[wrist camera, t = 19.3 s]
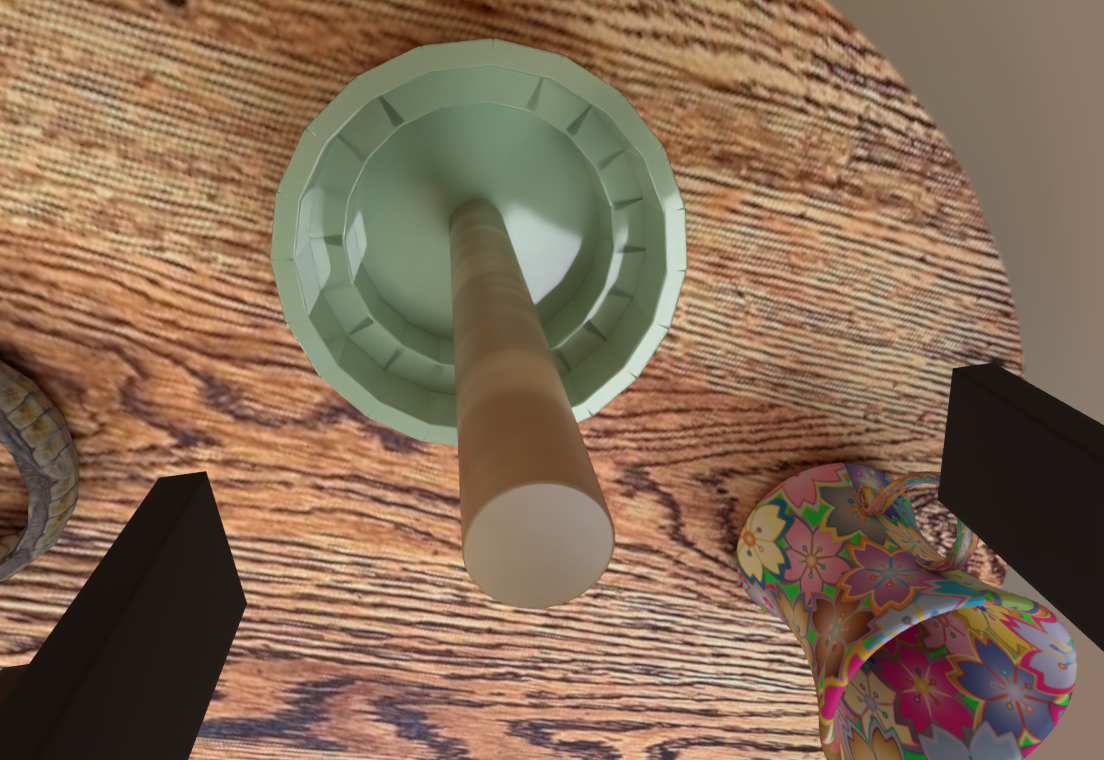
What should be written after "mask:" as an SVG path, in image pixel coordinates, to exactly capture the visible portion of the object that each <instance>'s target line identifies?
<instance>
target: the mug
mask: <svg viewBox="0 0 1104 760" xmlns="http://www.w3.org/2000/svg"><path fill="white" fill-rule="evenodd" d="M940 474H941V472H933V471H925V472H916V473H911V474H908V475H905V476H902V477H900V478H898V479H896V480H894V479H892V478H891V477H890V476H888V475H886V474H885V473H883V472H881V471H879V470H877V469H874V468H871V467H868V466H865V465H860V464H853V463H835V464H828V465H822V466H818V467H814V468H811V469H808V470H805V471H803V472H800V473H798V474H796V475H794V476H792V477H790V478H788V479H787V480H785V481H783V482H782V483H780V484H779V485H778V486H776V487H775V488H774V489H772V490H771V491H770V492H769V493H768V494H767V495H766V496H765V497H764V498H763V499H762V500H761V501H760V502H759V503H758V505H757V506H756V507H755V508H754V510H753V511H752V513H751V514H750V516H749V517H748V519H747V521H746V523H745V525H744V527H743V529H742V531H741V534H740V537H739V541H738V546H737V554H736V562H737V570H738V574H739V578H740V581H741V583H742V586H743V588H744V589H745V591H746V593H747V594H748V595H749V597H750V598H751V599H752V600H753V601H754V602H755V603H756V604H757V605H759V606H760V607H761V608H762V609H764V610H765V611H767V612H769V613H771V614H773V615H775V616H777V617H779V618H780V619H781V620H782V621H783V622H784V623H785V624H786V625H787V626H788V627H789V628H790V629H791V631H792V632H793V633H794V635H795V636H796V638H797V640H798V641H799V643H800V645H801V647H802V649H803V651H804V653H805V655H806V657H807V660H808V662H809V665H810V668H811V671H812V675H813V678H814V682H815V687H816V692H817V699H818V708H819V732H820V740H821V745H822V749H823V751H824V754H825V757H826V758H827V760H1023V759H1024V758H1025V757H1026V756H1028V755H1029V754H1030V753H1031V752H1032V751H1033V750H1034V749H1035V748H1036V747H1037V746H1038V745H1039V744H1040V743H1041V742H1042V741H1043V740H1044V739H1045V738H1046V737H1047V736H1048V735H1049V733H1050V732H1051V731H1052V729H1053V728H1054V727H1055V726H1056V724H1057V723H1058V721H1059V720H1060V718H1061V716H1062V715H1063V713H1064V711H1065V709H1066V707H1067V705H1068V703H1069V701H1070V698H1071V695H1072V692H1073V689H1074V685H1075V681H1076V675H1077V656H1076V650H1075V646H1074V643H1073V641H1072V638H1071V636H1070V634H1069V632H1068V630H1067V629H1066V627H1065V626H1064V624H1063V623H1062V622H1061V621H1060V620H1059V619H1058V618H1057V617H1056V616H1055V615H1054V614H1053V613H1052V612H1051V611H1049V610H1048V609H1047V608H1045V607H1044V606H1042V605H1040V604H1039V603H1037V602H1035V601H1032V600H1030V599H1028V598H1025V597H1023V596H1019V595H1016V594H1013V593H1009V592H1007V591H1004V590H1001V589H998V588H996V587H993V586H991V585H988V584H986V583H984V582H982V581H980V580H978V579H976V578H974V577H972V576H970V575H968V574H967V573H965V572H963V571H962V570H960V569H959V568H961V567H962V566H964V565H965V564H966V563H967V562H968V561H969V560H970V559H971V557H972V556H973V554H974V552H975V550H976V547H977V544H978V540H979V537H978V536H977V535H976V534H974V533H973V532H972V531H971V530H970V529H969V528H968V527H967V526H966V525H965V524H963V523H962V522H961V521H960V520H959V519H958V518H957V523H958V528H957V538H956V542H955V545H954V547H953V549H952V551H951V553H950V554H949V555H948V556H947V557H946V558H944V557H942V556H941V555H940V554H939V553H938V552H937V551H936V550H935V549H934V548H933V547H932V546H931V545H930V544H929V543H928V542H927V540H926V539H925V538H924V537H923V535H922V534H921V532H920V531H919V529H918V527H917V525H916V521H915V514H914V510H913V507H912V504H911V502H910V500H909V498H908V496H907V494H906V492H905V491H906V490H907V489H909V488H911V487H913V486H915V485H918V484H921V483H933V484H936V485H938V486H939V483H940Z"/></svg>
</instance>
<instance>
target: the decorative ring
mask: <svg viewBox="0 0 1104 760" xmlns="http://www.w3.org/2000/svg"><path fill="white" fill-rule="evenodd" d="M0 443H1V444H2V445H3V446H4V447H5V448H6V449H7V450H8V451H9V452H10V453H11V455H12V456H13V457H14V460H15V462H16V464H17V467H18V469H19V471H20V474H21V476H22V478H23V481H24V483H25V485H26V488H27V490H28V492H29V499H28V523H27V525H26V526H25V528H24V529H23V530H22V531H19V532H16V533H13V534H10V535H7V536H3V537H0V581H2V580H6V579H9V578H11V577H12V576H14V575H15V574H17V573H18V572H19V571H21V570H22V569H24V568H25V567H26V566H28V565H29V564H30V563H31V562H33V561H34V560H35V559H37V558H38V557H39V556H41V555H42V554H43V553H45V552H46V551H47V550H48V549H50V548H51V547H52V546H54V545H55V544H56V542H57V541H58V539H59V537H60V535H61V533H62V531H63V529H64V528H65V526H66V524H67V522H68V520H69V518H70V516H71V515H72V513H73V511H74V508H75V505H76V502H77V500H78V483H79V457H78V453H77V450H76V448H75V445H74V443H73V440H72V438H71V435H70V432H69V430H68V427H67V425H66V422H65V420H64V417H63V415H62V414H61V412H60V411H59V410H58V409H57V408H56V407H55V405H54V404H53V403H52V402H51V401H50V400H49V398H48V397H47V396H46V395H45V394H44V393H43V392H42V390H41V389H40V388H39V387H38V386H37V385H36V383H35V382H34V381H33V380H31V379H29V378H28V377H26V376H25V375H23V374H22V373H20V372H18V371H17V370H15V369H14V368H12V367H11V366H9V365H8V364H6V363H4V362H3V361H1V360H0Z"/></svg>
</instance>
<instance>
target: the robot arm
mask: <svg viewBox="0 0 1104 760" xmlns="http://www.w3.org/2000/svg"><path fill="white" fill-rule="evenodd" d="M938 501H939V502H940V503H942V504H943V505H944V506H945V507H946V508H947V509H948V510H949V511H950V512H951V513H953V514H954V515H955V516H956V517H957V518H958V519H959V520H960V521H961V522H962V523H963V524H965V525H966V526H967V527H968V528H969V529H970V530H971V531H972V532H973V533H974V534H976V535H977V536H978V537H979V538H980V539H981V540H982V541H983V542H984V543H985V544H986V545H988V546H989V547H990V548H991V549H992V550H993V551H994V552H995V553H996V554H997V555H998V556H1000V557H1001V558H1002V559H1003V560H1004V561H1005V562H1006V563H1007V564H1008V565H1009V566H1011V567H1012V568H1013V569H1014V570H1015V571H1016V572H1017V573H1018V574H1019V575H1020V576H1022V577H1023V578H1024V579H1025V580H1026V581H1027V582H1028V583H1029V584H1030V585H1031V586H1033V587H1034V588H1035V589H1036V590H1037V591H1038V592H1039V593H1040V594H1041V595H1042V596H1043V597H1045V598H1046V599H1047V600H1048V601H1049V602H1050V603H1051V604H1052V605H1053V606H1054V607H1055V608H1057V609H1058V610H1059V611H1060V612H1061V613H1062V614H1063V615H1064V616H1065V617H1066V618H1067V619H1069V620H1070V621H1071V622H1072V623H1073V624H1074V625H1075V626H1076V627H1077V628H1078V629H1079V630H1081V631H1082V632H1083V633H1084V634H1085V635H1086V636H1087V637H1088V638H1089V639H1091V640H1092V641H1093V642H1094V643H1095V644H1096V645H1097V646H1098V647H1099V648H1100V649H1101V650H1103V651H1104V425H1102V424H1101V423H1099V422H1097V421H1095V420H1093V419H1092V418H1090V417H1088V416H1087V415H1085V414H1083V413H1081V412H1080V411H1078V410H1076V409H1074V408H1072V407H1071V406H1069V405H1067V404H1065V403H1064V402H1062V401H1060V400H1058V399H1057V398H1055V397H1053V396H1051V395H1049V394H1048V393H1046V392H1044V391H1042V390H1040V389H1039V388H1037V387H1035V386H1034V385H1032V384H1030V383H1028V382H1027V381H1025V380H1023V379H1021V378H1019V377H1018V376H1016V375H1014V374H1012V373H1011V372H1009V371H1007V370H1005V369H1004V368H1002V367H1000V366H998V365H996V364H995V363H988V364H981V365H974V366H966V367H959V368H953V372H952V381H951V389H950V398H949V406H948V415H947V423H946V432H945V440H944V449H943V457H942V466H941V474H940V483H939V491H938ZM246 605H247V602H246V599H245V595H244V592H243V589H242V586H241V582H240V579H239V576H238V573H237V570H236V566H235V563H234V560H233V557H232V553H231V550H230V547H229V544H228V540H227V537H226V534H225V531H224V528H223V524H222V521H221V518H220V515H219V511H218V508H217V505H216V502H215V498H214V495H213V492H212V489H211V486H210V482H209V479H208V476H207V473H206V471H205V472H197V473H190V474H183V475H176V476H168V477H161V478H159V479H158V480H157V482H156V483H155V484H154V486H153V487H152V489H151V490H150V492H149V493H148V495H147V496H146V497H145V499H144V500H143V502H142V503H141V505H140V506H139V507H138V509H137V510H136V512H135V513H134V515H133V516H132V517H131V519H130V520H129V522H128V523H127V525H126V526H125V527H124V529H123V530H122V532H121V533H120V535H119V536H118V537H117V539H116V540H115V542H114V543H113V545H112V546H111V548H110V549H109V550H108V552H107V553H106V555H105V556H104V558H103V559H102V560H101V562H100V563H99V565H98V566H97V568H96V569H95V570H94V572H93V573H92V575H91V576H90V578H89V579H88V580H87V582H86V583H85V585H84V586H83V588H82V589H81V590H80V592H79V593H78V595H77V596H76V598H75V599H74V601H73V602H72V603H71V605H70V606H69V608H68V609H67V611H66V612H65V613H64V615H63V616H62V618H61V619H60V621H59V622H58V623H57V625H56V626H55V628H54V629H53V631H52V632H51V633H50V635H49V636H48V638H47V639H46V641H45V642H44V643H43V645H42V646H41V648H40V649H39V651H38V652H37V654H36V655H35V656H34V658H33V659H32V661H31V662H30V664H25V665H19V666H12V667H6V668H3V669H2V670H1V671H0V760H188V759H189V756H190V753H191V751H192V748H193V745H194V743H195V740H196V738H197V735H198V732H199V730H200V727H201V724H202V722H203V719H204V716H205V714H206V711H207V708H208V706H209V703H210V700H211V698H212V695H213V692H214V690H215V687H216V684H217V682H218V679H219V676H220V674H221V671H222V669H223V666H224V663H225V661H226V658H227V655H228V653H229V650H230V647H231V645H232V642H233V639H234V637H235V634H236V631H237V629H238V626H239V623H240V621H241V618H242V615H243V613H244V610H245V607H246Z"/></svg>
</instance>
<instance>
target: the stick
mask: <svg viewBox="0 0 1104 760" xmlns="http://www.w3.org/2000/svg"><path fill="white" fill-rule="evenodd" d="M449 238H450V262H451V287H452V311H453V336H454V361H455V385H456V410H457V434H458V459H459V483H460V508H461V533H462V553H463V560H464V564H465V567H466V569H467V571H468V574H469V575H470V577H471V578H472V580H473V581H474V583H475V584H476V585H477V586H478V587H479V588H480V589H481V590H482V591H483V592H484V593H485V594H487V595H488V596H490V597H491V598H493V599H495V600H497V601H499V602H501V603H504V604H507V605H509V606H514V607H518V608H527V609H539V608H548V607H552V606H557V605H560V604H563V603H566V602H568V601H570V600H572V599H575V598H576V597H578V596H580V595H581V594H583V593H584V592H586V591H587V590H588V589H590V588H591V587H592V586H593V585H594V584H595V583H596V582H597V581H598V580H599V579H600V577H601V576H602V575H603V573H604V572H605V570H606V569H607V567H608V565H609V562H610V560H611V557H612V554H613V551H614V545H615V530H614V525H613V521H612V518H611V515H610V513H609V510H608V507H607V504H606V502H605V499H604V496H603V493H602V491H601V488H600V485H599V482H598V480H597V477H596V474H595V471H594V469H593V466H592V463H591V460H590V457H589V455H588V452H587V449H586V446H585V444H584V441H583V438H582V435H581V433H580V430H579V427H578V424H577V422H576V419H575V416H574V413H573V411H572V408H571V405H570V402H569V400H568V397H567V394H566V391H565V388H564V386H563V383H562V380H561V377H560V375H559V372H558V369H557V366H556V364H555V361H554V358H553V355H552V353H551V350H550V347H549V344H548V342H547V339H546V336H545V333H544V331H543V328H542V325H541V322H540V320H539V317H538V314H537V311H536V308H535V306H534V303H533V300H532V297H531V295H530V292H529V289H528V286H527V284H526V281H525V278H524V275H523V273H522V270H521V267H520V264H519V262H518V259H517V256H516V253H515V251H514V248H513V245H512V242H511V239H510V237H509V234H508V231H507V228H506V226H505V223H504V220H503V217H502V215H501V213H500V212H499V210H498V209H497V208H496V207H495V206H494V205H492V204H491V203H489V202H487V201H484V200H479V199H474V200H469V201H466V202H464V203H462V204H460V205H459V206H458V207H457V208H456V209H455V210H454V212H453V213H452V215H451V218H450V222H449Z"/></svg>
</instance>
